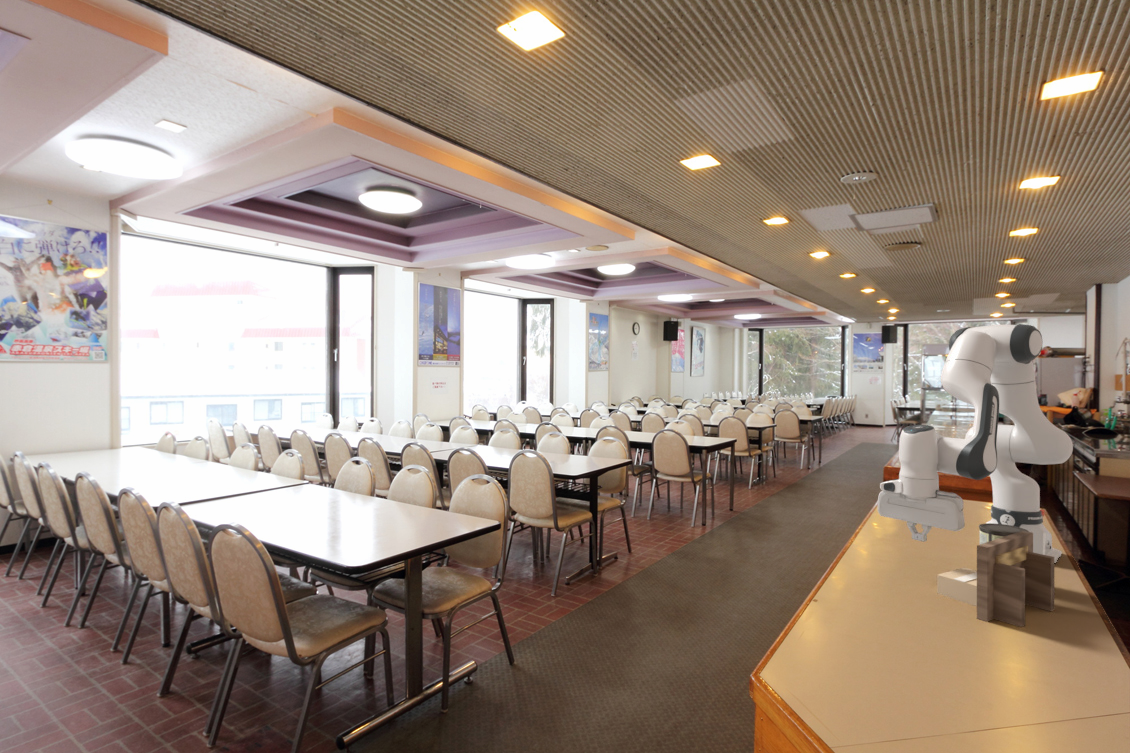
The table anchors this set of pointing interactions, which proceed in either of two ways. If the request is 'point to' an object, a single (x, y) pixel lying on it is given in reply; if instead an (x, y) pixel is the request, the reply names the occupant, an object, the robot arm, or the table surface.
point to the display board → (1013, 579)
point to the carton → (959, 585)
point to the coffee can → (996, 531)
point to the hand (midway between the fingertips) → (919, 540)
